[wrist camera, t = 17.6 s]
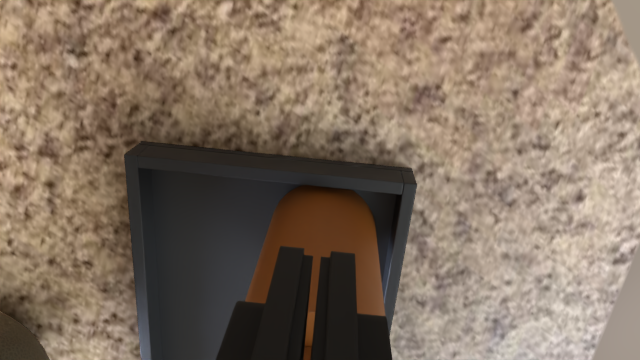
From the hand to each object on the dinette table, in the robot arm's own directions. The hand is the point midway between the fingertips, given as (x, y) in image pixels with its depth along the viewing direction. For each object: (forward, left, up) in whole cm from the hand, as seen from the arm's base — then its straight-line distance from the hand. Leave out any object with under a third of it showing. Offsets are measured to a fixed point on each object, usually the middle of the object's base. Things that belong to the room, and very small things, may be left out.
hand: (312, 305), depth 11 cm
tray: (+3, +21, -20) cm, 29 cm away
